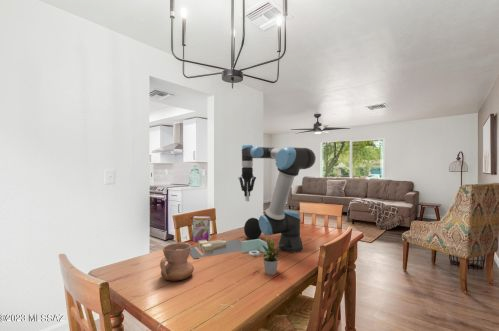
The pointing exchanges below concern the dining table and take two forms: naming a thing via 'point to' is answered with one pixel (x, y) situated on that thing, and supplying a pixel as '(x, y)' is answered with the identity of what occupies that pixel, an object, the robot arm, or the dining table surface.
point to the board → (230, 247)
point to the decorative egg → (252, 229)
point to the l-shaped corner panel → (254, 247)
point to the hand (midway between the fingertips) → (247, 201)
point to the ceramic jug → (176, 262)
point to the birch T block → (211, 245)
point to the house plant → (270, 257)
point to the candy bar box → (201, 228)
